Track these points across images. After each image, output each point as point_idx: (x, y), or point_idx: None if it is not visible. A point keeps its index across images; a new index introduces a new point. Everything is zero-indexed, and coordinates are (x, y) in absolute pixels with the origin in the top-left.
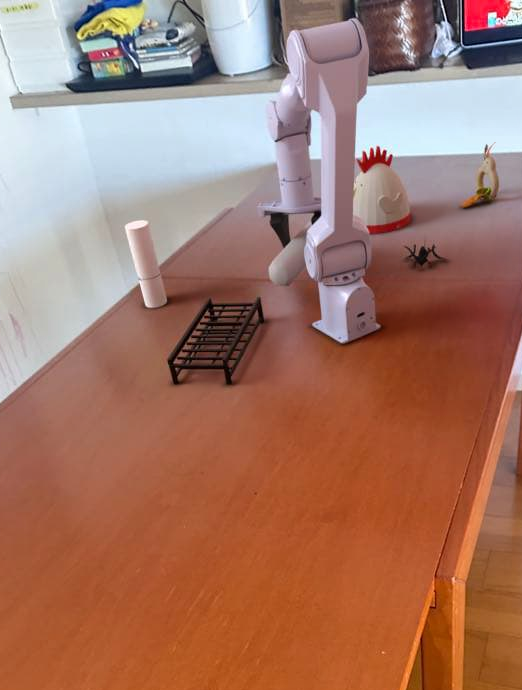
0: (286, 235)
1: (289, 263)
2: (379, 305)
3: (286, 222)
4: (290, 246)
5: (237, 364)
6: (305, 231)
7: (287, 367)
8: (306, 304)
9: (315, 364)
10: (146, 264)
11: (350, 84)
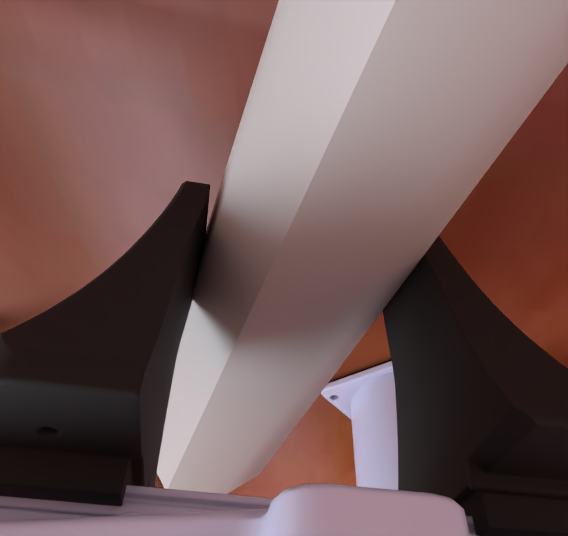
0: (175, 337)
1: (246, 479)
2: (562, 321)
3: (159, 387)
4: (232, 417)
5: (154, 485)
6: (333, 260)
7: (263, 478)
8: None
9: (323, 478)
10: None
11: None
